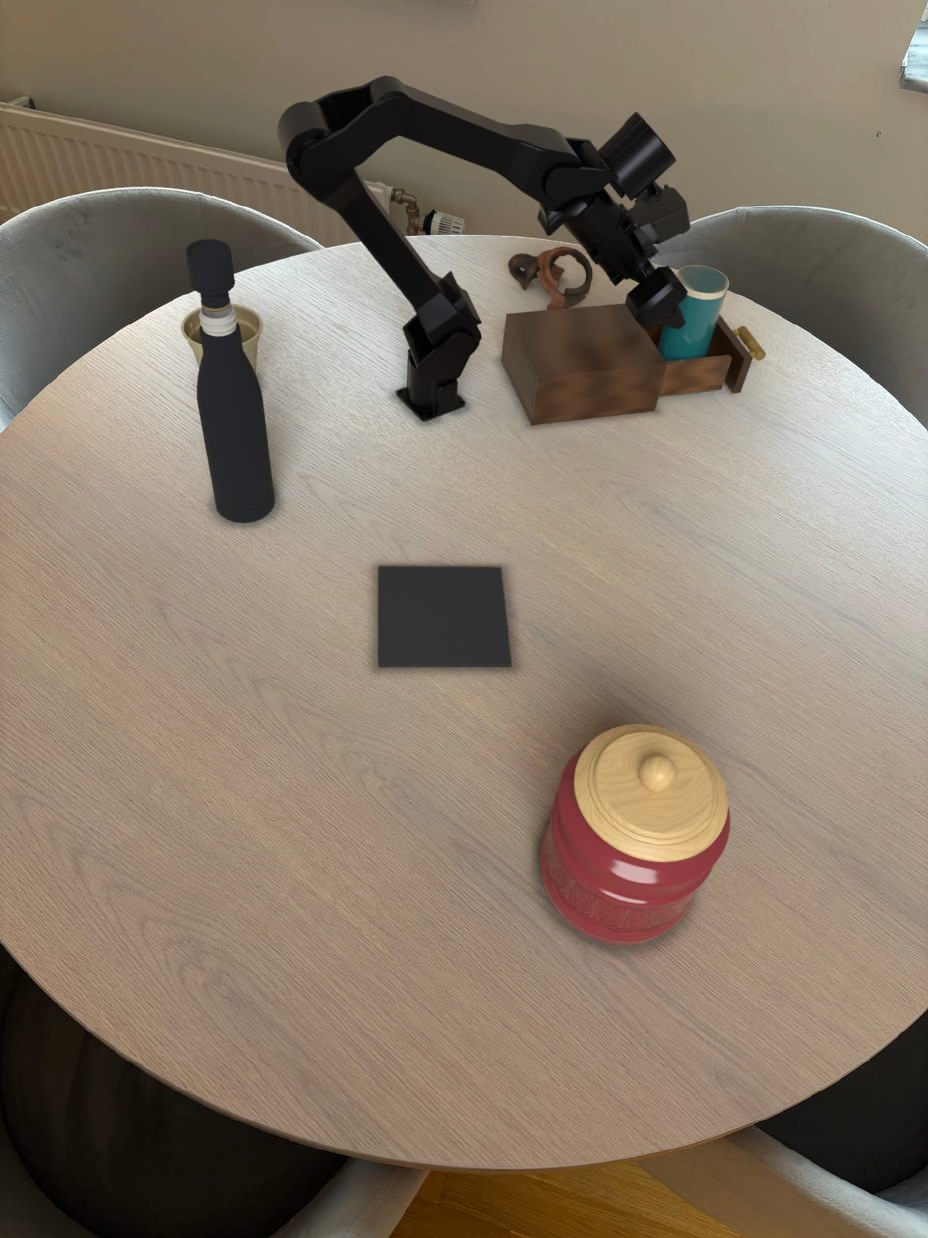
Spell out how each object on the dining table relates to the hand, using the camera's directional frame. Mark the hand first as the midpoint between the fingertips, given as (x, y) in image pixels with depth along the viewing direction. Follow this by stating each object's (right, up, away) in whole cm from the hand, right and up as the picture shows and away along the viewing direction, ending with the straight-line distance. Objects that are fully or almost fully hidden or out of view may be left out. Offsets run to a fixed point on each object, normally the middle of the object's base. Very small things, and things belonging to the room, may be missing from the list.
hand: (667, 304), depth 117 cm
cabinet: (-11, -9, +6) cm, 15 cm away
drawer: (+4, -6, +9) cm, 11 cm away
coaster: (-27, -39, -20) cm, 52 cm away
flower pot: (-54, -10, +1) cm, 55 cm away
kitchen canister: (-13, -60, -37) cm, 72 cm away
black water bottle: (-49, -26, -12) cm, 57 cm away
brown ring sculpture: (-13, +7, +20) cm, 25 cm away
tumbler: (+3, -5, +8) cm, 10 cm away
